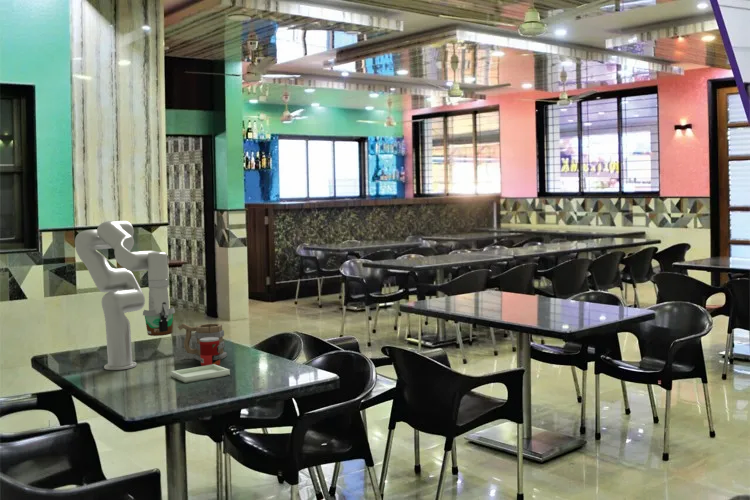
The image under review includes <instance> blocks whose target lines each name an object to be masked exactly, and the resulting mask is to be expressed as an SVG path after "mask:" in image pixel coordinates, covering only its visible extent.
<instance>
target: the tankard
mask: <svg viewBox="0 0 750 500" xmlns="http://www.w3.org/2000/svg"><path fill="white" fill-rule="evenodd" d="M177 328H178V330H179V331H181V330H183V329H184V330H185V337H184V341H183V347H184V349H185V352H186V353H187V354H191V355H194V356H193V358H194V359H195V360H196V361H199V362H201V358H200V339H201V338H206V337H218V338H219V345H220V360H223V359H225V358H226V357H227V356H228V352H226V351H224V348H225V346H226V344H225V341H224V338H223V337H224V336H225V331H224V329H223V324H221V323H203V324H199V325H196V326H191V325H188V324H186V323H181V324H180V325H179V326H177ZM192 332H194V338H195V339H196V343H195V348H191V346H190V342H191V339H192Z"/></svg>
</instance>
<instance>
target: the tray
mask: <svg viewBox="0 0 750 500" xmlns="http://www.w3.org/2000/svg"><path fill="white" fill-rule="evenodd" d="M230 371H231V369H230V368H227V367H223V366H221V365H219V366H218V365H215V364H212V365H206V366H196V367H189V368H182V369H178V370H171V371H170V377H172V378H173V379H175V380H178V381H181V382H183V383H193V382H197V381H203V380H208V379H214V378H221V377H224V376H230V375H231V372H230Z"/></svg>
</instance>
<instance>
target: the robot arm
mask: <svg viewBox="0 0 750 500" xmlns="http://www.w3.org/2000/svg"><path fill="white" fill-rule="evenodd" d="M134 234H135V230H134V227H133V225H132V224H131V222H129V221H127V220H107V221H104V222H101V223H100V224H99V225H98V227H97V229H96V228H95V229H86V230H82V231H79V232H78V233H77V235H76V236H75V239H74V247H75V251H76V254H77V255H78V258H79V259H80V260H81V262H82V263H83V264H84V265H85V267H86V269H87V270H88V271H87V272H88V273H89V275H90V277H91V279H92V281H93V283H94V284H95V286H96V288H97V290H98V291H99V292H101V293H105V294H104V295H103V296H102V298H101V308H102V311H103V315H104V321H105V335H106V352H107V355H106V356H107V363H106V364H105V365H104V367H103V368H104V369H105V370H108V371H121V370H128V369H133V368H134V367H137V362H136V361H133V353H132V351H133V350H132V349H133V348H132V336H131V335H132V333H131V332H132V331H131V322H130V321H129V319H128V317H127V316H126V315H125V314H126V313H130V312H137V311H140V310H142V309H143V308H144V307H145V303H146V299H145V295H144V293H143V289H142V288H141V286H140V284H139V282H138V280H137V279H136V277H135V275H134V273H133V272H140V271H147V280H148V289H149V290H148V310H155V314H159V313H160V316H159V319H160V322H159V331H160V332H165V331H168V323H167V321H168V318H167V317H168V314H169V313H168V312H169V309H170V302H169V301H170V300H169V291H168V288H169V287H170V285H169V283H170V282H169V261H168V260H169V259H168V254H167V253H166V252H165V251H155V250H140V251H139V250H138V251H131V250H132V249H133V247H134V245H135V240H134ZM105 249H109V250H110V249H113V250H114V251H113V252H114V257H115V260H116V262H117V263H118V265H119V266H120V267H117V268H114V267H112V266H111V265H110V264H109V263H110V262H109V261H108V260H107V258H106V257H105V256H104V255H103V254H102V253H100V252H99V251H97V250H105ZM161 311H164V315H163V313H161ZM161 315H163V316H161Z"/></svg>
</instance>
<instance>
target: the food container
mask: <svg viewBox="0 0 750 500" xmlns="http://www.w3.org/2000/svg"><path fill="white" fill-rule="evenodd" d="M161 313H163V315H164V311H161ZM168 313H169V314H168V317H167V318H168V321H167V323H168V331H165V332H160V331H159V322H160V319H159V316H160V313H159V314H155V310H149V309H143V311H142V316H144V320H145V326H146V333H147V336H151V337H160V336H161V337H163V336H167V335H171V334H173V331H174V330H173V328H174V314H175V313H176V311H175V308H174V307H171V308H169V312H168ZM163 315H161V316H163Z"/></svg>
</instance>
